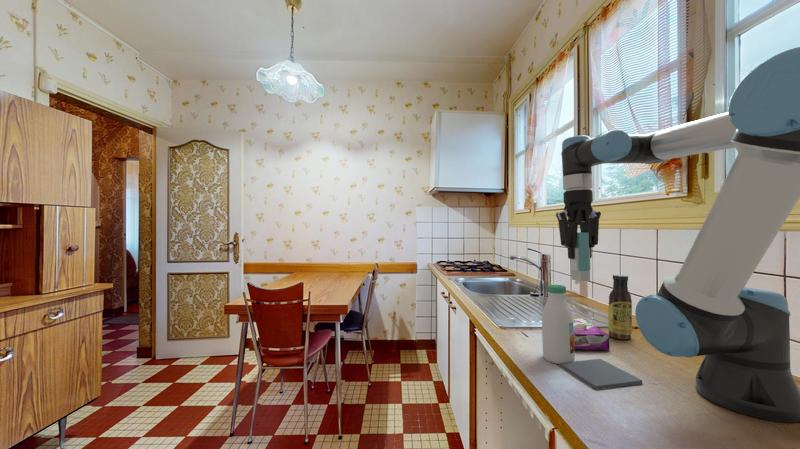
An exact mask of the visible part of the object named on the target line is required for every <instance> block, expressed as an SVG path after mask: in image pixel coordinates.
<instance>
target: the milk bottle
mask: <svg viewBox="0 0 800 449" xmlns="http://www.w3.org/2000/svg"><path fill="white" fill-rule="evenodd" d="M546 290H547V292H546V293H547V294H548V296H547V301H546V303H545V305H544V307H543V310H542V315H541V316H542V317H541V319H542V320H541V332H542V333H541V334H542V340H541V341H542V356H543V358H544V359H545V360H546V361H548V362H550V363H552V364H556V365H557V364H558V365H560V363H566V362H575V357H576V356H575V350H574V325H573V318H574V317H573V313H572V310H571V308H570V306H569V305H568V302H567V299H566V295H567V286H565V285H561V284H548V285H547V287H546Z"/></svg>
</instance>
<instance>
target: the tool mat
mask: <svg viewBox="0 0 800 449" xmlns="http://www.w3.org/2000/svg"><path fill="white" fill-rule="evenodd" d="M559 367H560V368H562V370H565V371H567V372H568V373H569V374H571V375H572V376H573V377H575V378H577V379H579V380H581V381H582V382H583V383H584V384H587V386H589V385H590V387H591V388H593V389H594V388H595V389H594V390H596V389H599V390H604V389H603V388H606V389H613V387H614V388H621V387H627V386H629V387H630V386H634V385H635V386H636V385H637V386H638V385H642V384H643V380H642V379H640V378H639V377H637V376H635V375H633V374H631V373H628V372H627V371H625V370H624V369H621V368H619V367H617V366H616V365H613V364H611V363H609V362H607V360H606V361H605V360H603V359H602V358H594V359H585V360H577V361H575V360H574V362H566V363H560V364H559Z"/></svg>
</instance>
